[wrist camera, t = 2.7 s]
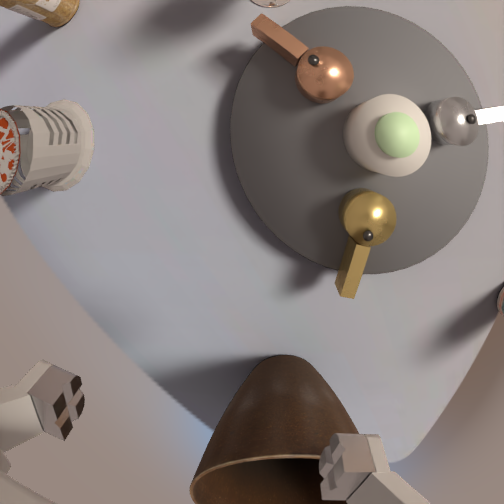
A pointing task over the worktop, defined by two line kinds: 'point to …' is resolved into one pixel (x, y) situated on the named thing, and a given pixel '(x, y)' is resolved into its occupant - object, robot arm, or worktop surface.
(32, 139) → the vented spool lamp
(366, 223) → the knob brass
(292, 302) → the worktop surface
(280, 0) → the wineglass
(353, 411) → the worktop surface
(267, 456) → the plant pot
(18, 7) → the sprinkles bottle
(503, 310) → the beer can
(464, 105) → the knob steel
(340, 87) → the knob copper
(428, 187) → the tribrach
